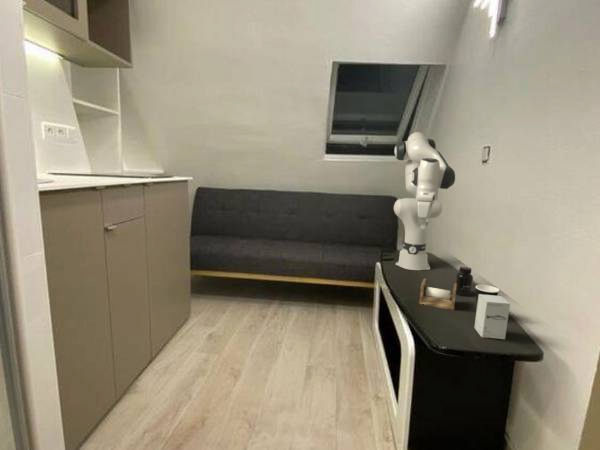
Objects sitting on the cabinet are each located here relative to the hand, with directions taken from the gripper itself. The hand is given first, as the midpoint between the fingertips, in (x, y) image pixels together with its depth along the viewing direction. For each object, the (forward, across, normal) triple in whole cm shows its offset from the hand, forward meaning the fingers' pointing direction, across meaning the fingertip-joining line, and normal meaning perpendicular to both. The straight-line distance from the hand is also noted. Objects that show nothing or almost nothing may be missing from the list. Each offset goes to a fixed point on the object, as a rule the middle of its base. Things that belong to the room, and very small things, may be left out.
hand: (424, 227), depth 153 cm
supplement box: (+29, +34, +27) cm, 52 cm away
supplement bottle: (+29, -5, +18) cm, 35 cm away
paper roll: (+26, +13, +9) cm, 30 cm away
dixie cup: (+29, +18, +26) cm, 43 cm away
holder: (+29, +13, +9) cm, 33 cm away
